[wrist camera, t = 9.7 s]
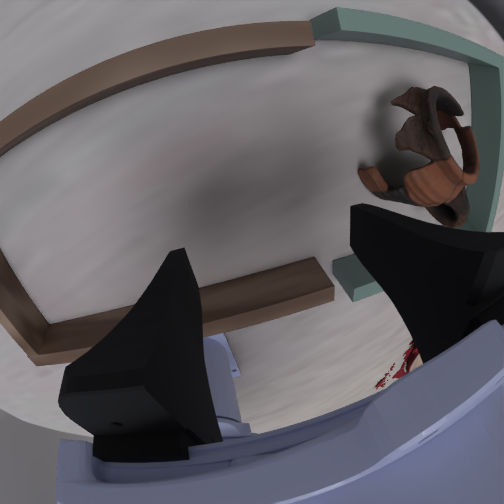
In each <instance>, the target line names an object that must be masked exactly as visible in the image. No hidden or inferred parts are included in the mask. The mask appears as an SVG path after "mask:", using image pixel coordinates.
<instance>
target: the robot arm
mask: <svg viewBox="0 0 504 504" xmlns="http://www.w3.org/2000/svg"><path fill="white" fill-rule="evenodd" d="M350 246H351V248H352V250H353V251H354V253H355V255H356V256H357V258H358V259H359V261H360V262H361V264H362V265H363V266H364V267H365V268H366V270H367V271H368V272H369V273H370V274H371V276H372V277H373V278H374V279H375V280H376V282H377V283H378V284H379V285H380V286H381V288H382V289H383V290H384V291H385V293H386V294H387V295H388V297H389V298H390V299H391V301H392V302H393V304H394V305H395V307H396V309H397V310H398V312H399V314H400V315H401V317H402V319H403V321H404V323H405V324H406V326H407V328H408V330H409V332H410V334H411V336H412V338H413V341H414V343H415V345H416V347H417V350H418V352H419V354H420V357H421V360H422V362H423V364H422V365H421V366H419V367H417V368H415V369H414V370H412V371H411V372H409V373H407V374H406V375H404V376H403V377H401V378H400V379H398V380H396V381H395V382H393V383H392V384H391V385H390V386H388V387H387V388H386V389H384V390H382V391H380V392H377V393H375V394H373V395H371V396H369V397H366V398H364V399H362V400H360V401H357V402H355V403H352V404H350V405H348V406H345V407H343V408H340V409H337V410H335V411H332V412H330V413H327V414H324V415H321V416H318V417H316V418H313V419H310V420H307V421H303V422H300V423H297V424H294V425H291V426H287V427H284V428H280V429H276V430H273V431H269V432H265V433H261V434H257V433H251V429H250V425H249V423H242V422H241V415H240V411H239V406H238V402H237V397H236V392H235V387H234V383H233V378H235V377H239V376H240V375H241V373H240V370H239V368H238V365H237V363H236V361H235V358H234V356H233V353H232V351H231V349H230V346H229V344H228V341H227V339H226V336H225V334H224V333H221V334H217V335H213V336H209V337H205V338H203V323H202V305H201V299H200V293H199V287H198V284H197V281H196V278H195V276H194V273H193V270H192V268H191V265H190V262H189V259H188V256H187V254H186V251H185V248H180V249H177V250H173V251H170V252H169V254H168V255H167V257H166V259H165V260H164V262H163V264H162V265H161V267H160V268H159V270H158V272H157V273H156V275H155V277H154V278H153V280H152V281H151V283H150V284H149V286H148V287H147V289H146V290H145V291H144V293H143V294H142V296H141V297H140V299H139V300H138V301H137V302H136V304H135V305H134V306H133V307H132V309H131V310H130V311H129V312H128V313H127V315H126V316H125V317H124V318H123V319H122V320H121V321H120V322H119V323H118V324H117V325H116V326H115V327H114V328H113V329H112V330H111V331H110V332H109V333H108V334H107V335H106V336H105V337H104V338H103V339H102V340H101V341H99V342H98V343H97V344H96V345H95V346H93V347H92V348H91V349H90V350H89V351H87V352H86V353H85V354H83V355H82V356H81V357H79V358H78V359H76V360H75V361H74V362H72V363H71V364H69V365H68V366H66V367H65V371H64V375H63V380H62V384H61V389H60V393H59V398H58V403H59V407H60V408H61V410H62V411H63V412H64V414H65V415H66V416H67V417H69V418H70V419H71V420H72V421H74V422H75V423H76V424H78V425H79V426H81V427H82V428H84V429H85V430H87V431H88V432H90V433H91V434H93V435H94V440H93V443H90V442H87V441H79V440H66V439H61V440H59V448H58V459H57V477H56V478H57V479H56V502H57V503H58V504H504V232H479V231H469V230H462V229H455V228H450V227H444V226H440V225H436V224H432V223H428V222H424V221H421V220H417V219H414V218H411V217H408V216H405V215H401V214H398V213H395V212H392V211H389V210H386V209H383V208H380V207H376V206H373V205H369V204H363V203H361V204H357V205H352V206H350Z"/></svg>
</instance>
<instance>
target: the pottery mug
mask: <svg viewBox="0 0 504 504" xmlns="http://www.w3.org/2000/svg"><path fill="white" fill-rule="evenodd" d="M391 104H392V105H394V106H399V107H402V108H404V109H406V110H407V111H409V112H411V113H413V114H415V116H412V117H409V118H408V119H407V121H406V122H405V123H404V125H403V127H402V129H401V130H400V131H399V132H398V133H397V134H396V137H395V141H396V148H397V150H398V151H403V150H411V151H413V152H415V153H418V154H421V155H423V156H425V157H426V158H428V159H430V160H431V162H429V163H428V164H427V165H425V166H423V167H421V168H417V169H412V170H410V171H409V172H408V173H407V174H406V175H405V176H404V178H403V181H404V185H401V186H399V187H396V188H394V187H389V186H388V185H387V183H386V182H385V181H384V179H383V178H382V176H381V174H380V173H379V171H378V169H377V168H376V167H375V166H372V167H368V168H367V169H359V170H358V174H359V176H360V178H361V180H362V181H363V183H364V184H365V186H366V187H367V188H368V189H369V190H370V191H371V192H372V193H373V194H374V195H375V196H377V197H378V198H380V199H383V200H389V201H395V202H401V203H405V204H410V205H415V206H422V207H425V208H426V209H427V210H428V211H429V213H430V214H431V215H432V216H433V217H434V218H435V219H436V220H437V221H438V222H440V223H441V224H443V225H444V226H447V227H450V228H455V227H460V226H462V225H464V224H465V223H466V221H467V220H468V215H469V213H470V205H469V200H468V197H467V194H466V185H472V184H474V183H475V182H476V180H477V178H478V175H479V169H480V162H479V153H478V148H477V144H476V140H475V136H474V133H473V131H472V128H471V127H470V126H466V127H461V126H460V124H459V122H458V120H457V118H456V117H455V116H463V115H464V113H463V111H462V109H461V107H460V105H459V104H458V103H457V101H456V100H455V99H454V98H453V97H452V95H451V94H450V93H448V92H447V91H446V90H445V89H443V88H440V87H437V86H433V87H431V88H429V89H427V90H425V89H422V88H418V87H415V88H414V87H411V88H410V89H409V90H408V91H407V92H406V93H405V94H403V95H401V96H399V97H397V98H395V99H394V100H393V101H391ZM446 128H454V130H455V132H456V134H457V137H458V140H459V143H460V145H461V149H462V157H463V171H462V169H461V168H460V167H459V166H458V164H457V163H456V161H455V160H454V158H453V156H452V155H451V154H450V151H449V149H448V146H447V144H446V142H445V140H444V137H443V134H442V131H441V130H445V129H446Z"/></svg>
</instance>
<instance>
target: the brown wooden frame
mask: <svg viewBox="0 0 504 504" xmlns="http://www.w3.org/2000/svg"><path fill="white" fill-rule="evenodd" d="M312 46H315V41H314V36H313V31H312V26H311V22H310V21H280V22H264V23H253V24H244V25H236V26H229V27H222V28H216V29H210V30H205V31H200V32H195V33H191V34H187V35H182V36H178V37H174V38H171V39H167V40H163V41H160V42H156V43H153V44H150V45H147V46H144V47H141V48H138V49H135V50H132V51H129V52H126V53H124V54H121V55H118V56H116V57H113V58H111V59H108V60H106V61H104V62H101V63H99V64H97V65H95V66H92V67H90V68H88V69H86V70H84V71H82V72H80V73H78V74H76V75H74V76H72V77H70V78H68V79H66V80H64V81H62V82H60V83H58V84H57V85H55V86H53V87H51V88H50V89H48V90H46V91H45V92H43V93H41V94H40V95H38V96H36V97H35V98H33V99H32V100H30V101H29V102H27V103H26V104H24V105H23V106H21V107H20V108H18V109H17V110H15V111H14V112H13V113H11V114H10V115H8V116H7V117H6V118H4V119H3V120H2V121H0V157H1V156H2V155H3V154H5V153H6V152H8V151H9V150H10V149H12V148H13V147H15V146H16V145H18V144H19V143H21V142H22V141H24V140H26V139H27V138H29V137H30V136H32V135H34V134H35V133H37V132H39V131H40V130H42V129H44V128H45V127H47V126H49V125H51V124H52V123H54V122H56V121H58V120H60V119H62V118H64V117H66V116H67V115H69V114H71V113H73V112H75V111H78V110H80V109H82V108H84V107H86V106H88V105H90V104H93V103H95V102H97V101H99V100H102V99H104V98H106V97H109V96H111V95H114V94H116V93H119V92H121V91H124V90H127V89H129V88H132V87H135V86H138V85H141V84H144V83H147V82H150V81H153V80H156V79H159V78H163V77H166V76H169V75H173V74H177V73H180V72H184V71H188V70H192V69H196V68H201V67H205V66H210V65H215V64H220V63H225V62H231V61H237V60H243V59H250V58H257V57H266V56H276V55H288V54H292V53H295V52H298V51H301V50H303V49H306V48H309V47H312ZM199 293H200V299H201V305H202V323H203V338H205V337H209V336H213V335H217V334H221V333H225V332H229V331H233V330H237V329H241V328H244V327H248V326H252V325H255V324H259V323H263V322H266V321H270V320H273V319H277V318H280V317H283V316H287V315H290V314H293V313H296V312H300V311H303V310H306V309H309V308H312V307H315V306H319V305H322V304H325V303H328V302H331V301H334V285H333V283H332V282H331V280H330V279H329V277H328V276H327V274H326V273H325V271H324V270H323V269H322V267H321V266H320V264H319V263H318V261H317V260H316V259H315V257H312V258H309V259H305V260H302V261H298V262H295V263H291V264H288V265H284V266H281V267H277V268H273V269H270V270H266V271H263V272H259V273H255V274H252V275H248V276H244V277H241V278H237V279H233V280H229V281H226V282H222V283H218V284H214V285H211V286H207V287H203V288H199ZM133 306H134V305H132V306H128V307H124V308H120V309H116V310H111V311H107V312H103V313H99V314H94V315H90V316H86V317H82V318H77V319H73V320H68V321H64V322H60V323H55V324H51V325H49V324H48V322H47V321H46V320H45V318H44V317H43V316H42V314H41V313H40V312H39V310H38V309H37V307H36V306H35V305H34V303H33V302H32V300H31V299H30V297H29V296H28V294H27V293H26V291H25V290H24V288H23V287H22V285H21V284H20V282H19V281H18V279H17V277H16V276H15V274H14V272H13V271H12V269H11V267H10V266H9V264H8V262H7V260H6V259H5V257H4V255H3V253H2V251H1V249H0V323H1V324H2V325H3V327H4V328H5V329H6V330H7V332H8V333H9V334H10V335H11V337H12V338H13V339H14V340H15V341H16V342H17V344H18V345H19V346H20V347H21V348H22V349H23V350H24V352H25V353H26V354H27V355H28V356H27V357H28V358H29V359H30V360H31V361H32V362H33V363H34V364H35V365H36V366H44V365H53V364H62V363H70V362H74V361H75V360H76V359H78V358H79V357H81V356H82V355H83V354H85V353H86V352H87V351H89V350H90V349H91V348H92V347H93V346H95V345H96V344H97V343H98V342H99V341H101V340H102V339H103V338H104V337H105V336H106V335H107V334H108V333H109V332H110V331H111V330H112V329H113V328H114V327H115V326H116V325H117V324H118V323H119V322H120V321H121V320H122V319H123V318H124V317H125V316H126V315H127V313H128V312H129V311H130V310H131V309H132V307H133Z"/></svg>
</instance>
